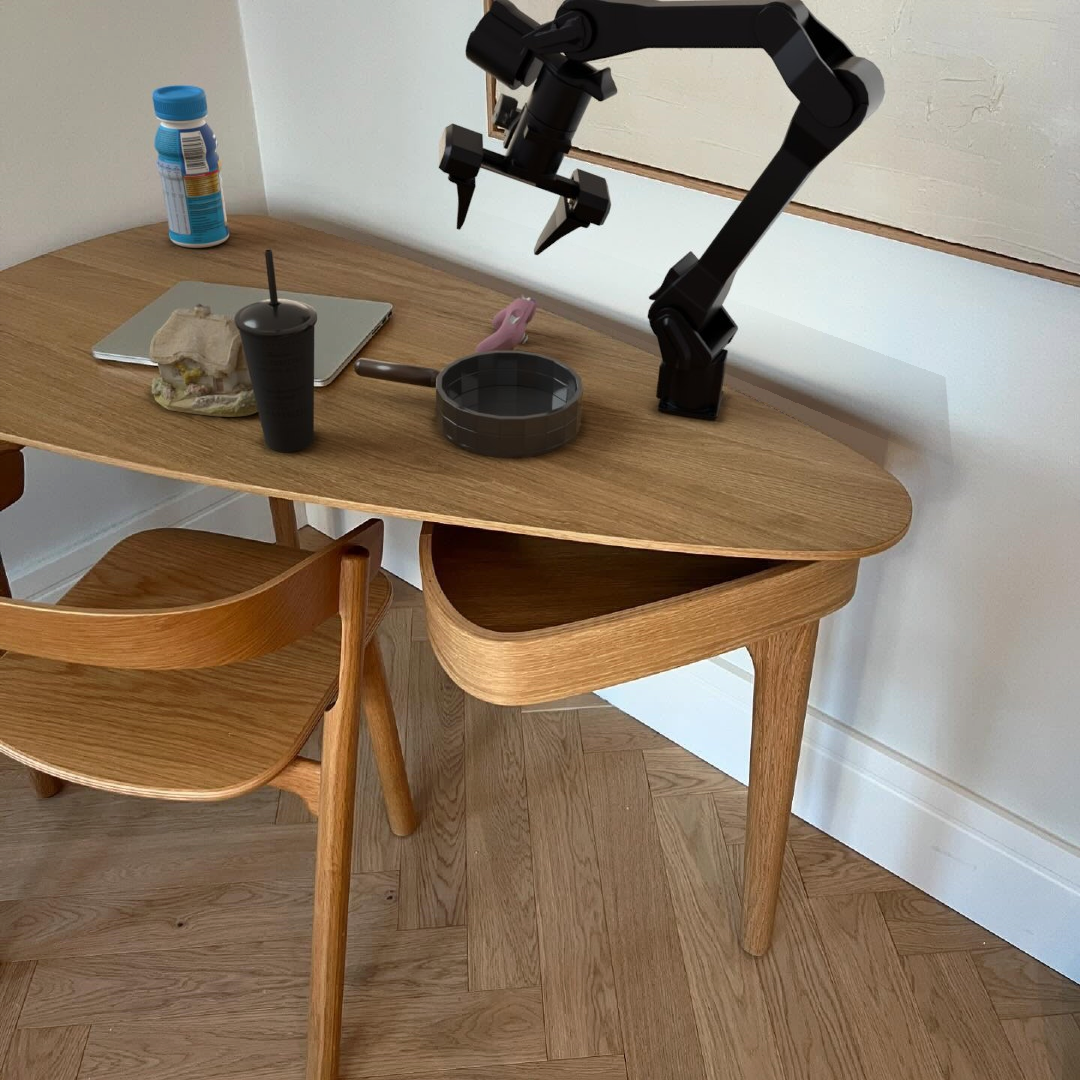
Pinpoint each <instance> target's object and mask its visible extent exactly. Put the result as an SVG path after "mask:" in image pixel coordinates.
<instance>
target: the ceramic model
mask: <svg viewBox="0 0 1080 1080" xmlns="http://www.w3.org/2000/svg"><path fill="white" fill-rule="evenodd" d="M148 352H149V355H148V358H149V360H150V362H151V363H154V364H157V367H158V371H159V375H160V376H155V377H154V378H153V379H152V380H151V394H152V396H153V397H154V400H155V401H156V403H158V404H159V405H160V406H162V407H163V408H164V409H167V410H169V411H173V412H179V413H186V414H193V415H199V416H211V417H226V418H235V417H247V416H251V415H254V414H256V413H258V409H257V404H256V400H255V396H254V391H253V387H252V383H251V379H250V374H249V370H248V366H247V362H246V357H245V353H244V349H243V344H242V340H241V336H240V332H239V330H238V329H237V327H236V326H235V322H234V319H233V317H231V316H228V315H224V314H220V313H214V312H213V313H212V311H211V306H209V304H201V303H197V304H196V305H194V308H193V310H192V309H190V308H189V309H188V308H176V309H175V310H173V311H171V314H170V316H169V318H168V319H167V320H166V321H165V323H163V325H162V326H161V327H160V328H159V329H158V330H156V331H155V332H154V334H153V337H152V338H151V341H150V349H149V351H148Z"/></svg>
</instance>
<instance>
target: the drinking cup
mask: <svg viewBox="0 0 1080 1080" xmlns="http://www.w3.org/2000/svg"><path fill="white" fill-rule="evenodd" d="M264 257H265V266H266V275H267V283H268V284H267V285H268V292H269V298H266V299H263V300H259V301H256V302H253V303H250V304H248V305H246V306H244V307H242V308H240V309H239V310H238V311H237V312H236V313H235V314H234V318H233V320H234V322H235V326H236V327H237V329H238V330H239V332H240V336H241V340H242V344H243V349H244V353H245V357H246V362H247V366H248V370H249V374H250V379H251V383H252V387H253V391H254V396H255V400H256V404H257V409H258V412H257V414H258V417H259V421H260V425H261V430H262V434H263V438H264V442H265V445H266V446H267V448H269V449H270V450H272V451H275V452H279V453H294V452H299V451H302V450H305V449H307V448H308V447H310V446H311V445H312V444H313V442H314V438H315V437H314V435H315V433H314V432H315V430H314V429H315V325H316V323H317V321H318V314H317V311H316V310H315V308H314V307H313V306H311V305H309V304H307V303H305V302H302V301H299V300H298V301H297V300H293V299H288V298H278V291H277V290H278V289H277V281H276V271H275V264H274V253H273V250H272V249H265V250H264Z"/></svg>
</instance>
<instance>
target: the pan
mask: <svg viewBox="0 0 1080 1080" xmlns="http://www.w3.org/2000/svg"><path fill="white" fill-rule="evenodd" d="M583 397H584V384H583V379H582V377H581V376H580V375H579V374H578V373H577V371H576V370H575V369H574V368H573V367H571V366H570V365H568V364H566V363H565V362H563V361H561V360H559V359H557V358H554V357H551V356H548V355H544V354H542V353H538V352H531V351H523V350H512V351H506V350H497V351H488V352H481V353H476V352H475V353H472V354H469V355H468V354H467V355H466V356H462V357H459V358H457V359H455V360H454V361H451V362H449V364H447V365H445V366H444V367H443V368H442V369H441V370H440V373H439V375H438V376H437V378H436V388H435V408H436V409H435V410H436V412H435V415H436V423H437V424H436V425H437V428H438V430H439V432H440V433H441V434H442V436H443V437H444V438H445V439H446V440H448V441H449V442H450V443H452V444H453V445H454V446H457V447H459V448H460V449H463V450H464V451H467V452H471V453H473V454H478V455H482V456H486V457H492V458H503V459H504V458H506V459H519V458H520V459H521V458H529V457H536V456H540V455H544V454H548V453H551V452H554V451H556V450H559V449H561V448H562V447H564V446H566V445H567V444H569V443H570V442H571V441H573V440H574V438H575V437H576V436H577V434H579V430H580V428H581V423H582V416H583V415H582V414H583V399H584V398H583Z"/></svg>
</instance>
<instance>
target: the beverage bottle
mask: <svg viewBox="0 0 1080 1080" xmlns="http://www.w3.org/2000/svg"><path fill="white" fill-rule="evenodd" d="M151 98H152V103H153V109H154V114H155V116H156V119H157V120H158V121H160V123H159V126H158V128H157V130H156V134H155V137H154V149H155V150H156V152H157V154H158V155H157V158H156V170H157V172H158V174H159V177H160V182H161V187H162V193H163V194H162V195H163V199H164V206H165V211H166V217H167V222H168V223H167V224H168V234H169V239H170V240H171V242H172V243H174V244H175V245H177V246H180V247H184V248H188V249H202V248H209V247H214V246H218V245H220V244H223V243H225V242H226V241H227V240H228V239H229V237H230V227H229V223H228V218H227V212H226V211H227V210H226V204H225V197H224V196H225V195H224V190H223V189H224V187H223V179H222V168H223V167H222V165H223V164H222V159H221V157H220V155H219V154H218V152H217V148H218V145H219V142H218V140H217V139H218V138H217V137H216V134H215V133H214V131H213V129H212V128H211V127H210V125H209V124H208V123H207V121H205V119H206V118H208V113H209V110H208V103H207V95H206V92H205V90H204V89H203V88H201V87H198V86H194V85H185V84H179V85H177V84H175V85H167V86H162V87H158V88H156V89H154V90H153V92H152V97H151Z"/></svg>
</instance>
